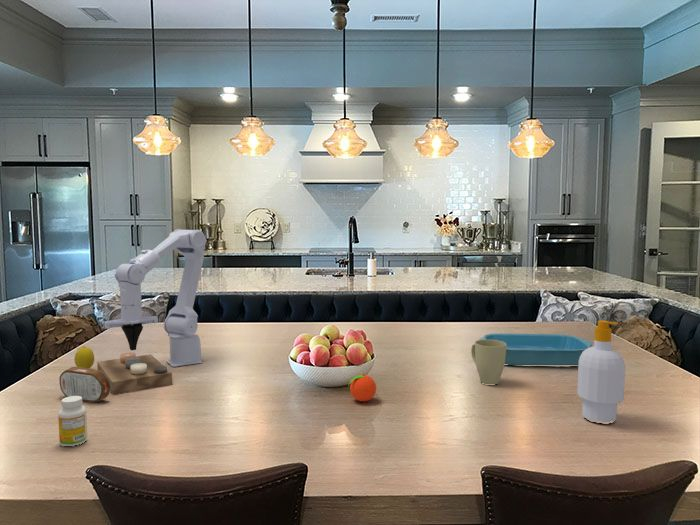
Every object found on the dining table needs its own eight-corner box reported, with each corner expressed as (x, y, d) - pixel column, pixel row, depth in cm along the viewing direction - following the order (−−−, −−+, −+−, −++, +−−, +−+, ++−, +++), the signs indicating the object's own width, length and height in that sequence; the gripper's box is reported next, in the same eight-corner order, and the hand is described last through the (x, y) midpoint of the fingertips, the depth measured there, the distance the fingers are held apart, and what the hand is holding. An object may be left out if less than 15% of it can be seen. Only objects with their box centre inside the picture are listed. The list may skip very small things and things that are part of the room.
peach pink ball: (134, 368, 172) (133, 351, 172) (137, 371, 169) (137, 354, 168) (119, 370, 170) (118, 353, 169) (122, 373, 166) (121, 357, 166)
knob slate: (139, 373, 167) (139, 356, 166) (143, 377, 163) (142, 360, 162) (124, 375, 164) (123, 359, 164) (127, 379, 160) (126, 362, 160)
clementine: (354, 407, 140) (354, 380, 139) (341, 399, 146) (342, 373, 146) (381, 402, 144) (381, 376, 143) (368, 394, 150) (368, 369, 149)
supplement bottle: (66, 437, 121) (64, 394, 120) (91, 436, 122) (89, 394, 121) (55, 447, 116) (53, 403, 115) (81, 447, 116) (79, 402, 115)
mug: (508, 380, 163) (509, 340, 162) (502, 389, 154) (503, 348, 153) (471, 375, 168) (472, 336, 167) (463, 384, 159) (464, 344, 158)
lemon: (87, 374, 167) (85, 348, 167) (71, 373, 169) (70, 347, 168) (98, 369, 173) (97, 344, 172) (83, 368, 174) (82, 343, 173)
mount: (151, 364, 178) (150, 350, 177) (172, 384, 158) (171, 368, 158) (97, 372, 169) (97, 357, 169) (112, 394, 149) (112, 377, 149)
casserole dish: (484, 368, 176) (484, 347, 175) (474, 351, 198) (474, 331, 198) (602, 371, 173) (603, 349, 172) (579, 353, 195) (579, 333, 195)
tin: (111, 401, 144) (110, 370, 144) (102, 405, 141) (101, 373, 141) (67, 394, 149) (66, 364, 148) (57, 398, 146) (56, 367, 145)
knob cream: (145, 379, 161) (144, 362, 160) (148, 383, 157) (148, 365, 157) (129, 382, 158) (128, 364, 158) (132, 386, 155) (132, 368, 154)
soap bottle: (619, 431, 126) (625, 327, 123) (572, 422, 131) (576, 322, 129) (624, 417, 134) (629, 320, 132) (579, 408, 140) (584, 315, 138)
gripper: (107, 308, 154) (109, 356, 155) (159, 303, 162) (161, 348, 163) (102, 305, 160) (104, 350, 161) (153, 300, 168) (155, 343, 169)
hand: (132, 349), depth 163 cm, fingers closed
